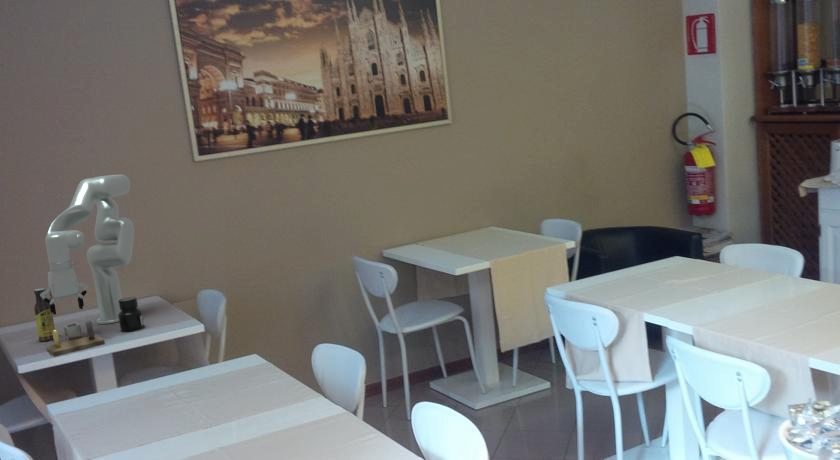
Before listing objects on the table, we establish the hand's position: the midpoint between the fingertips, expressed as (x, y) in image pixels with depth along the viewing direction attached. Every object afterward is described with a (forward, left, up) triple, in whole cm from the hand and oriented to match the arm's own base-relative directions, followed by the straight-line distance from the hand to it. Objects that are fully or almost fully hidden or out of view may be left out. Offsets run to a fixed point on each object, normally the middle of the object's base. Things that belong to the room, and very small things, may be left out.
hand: (67, 311), depth 341 cm
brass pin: (+7, +10, -12) cm, 17 cm away
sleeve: (-1, -1, -12) cm, 12 cm away
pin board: (+1, +10, -12) cm, 16 cm away
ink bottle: (-22, +3, -12) cm, 25 cm away
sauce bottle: (+6, -14, -12) cm, 19 cm away
